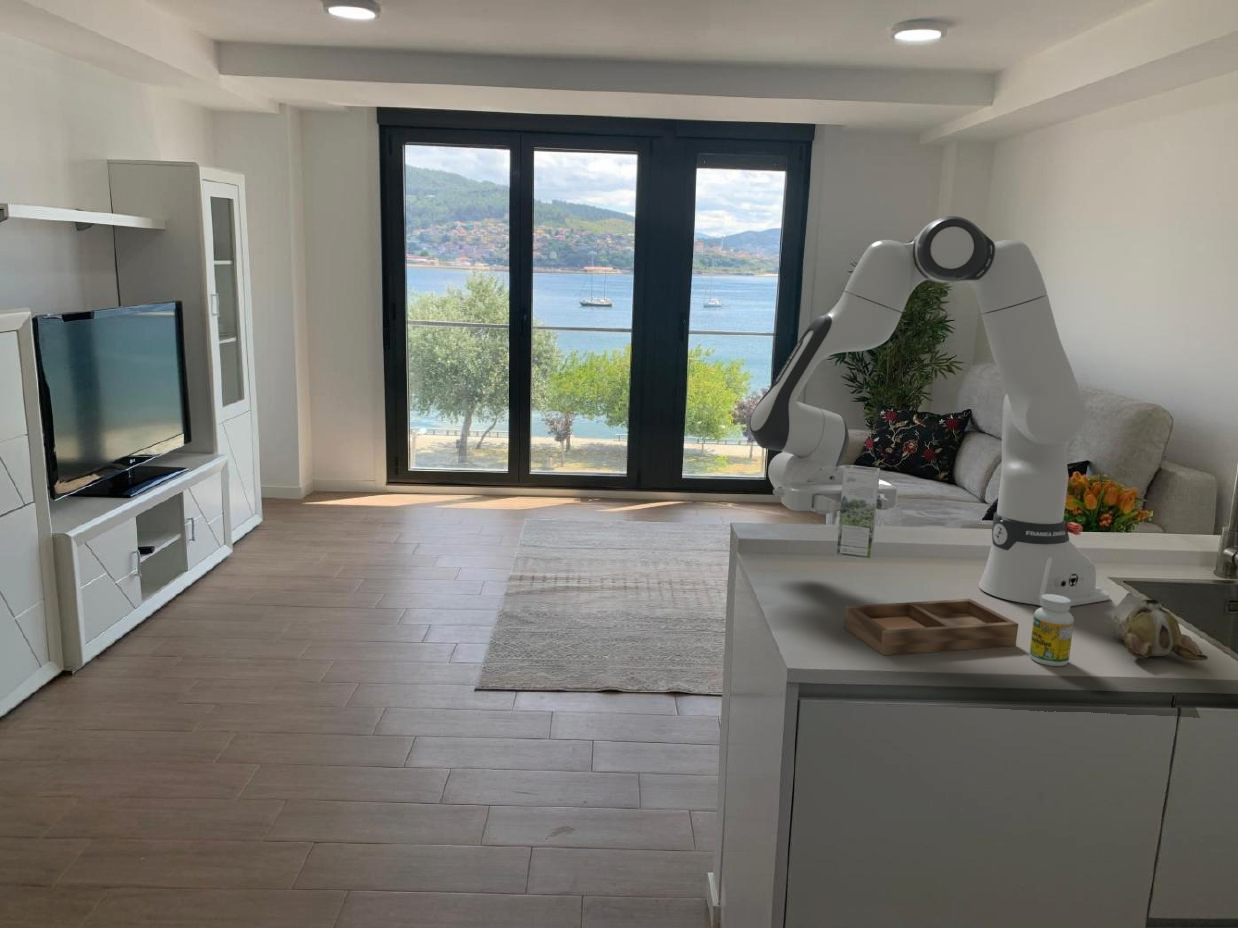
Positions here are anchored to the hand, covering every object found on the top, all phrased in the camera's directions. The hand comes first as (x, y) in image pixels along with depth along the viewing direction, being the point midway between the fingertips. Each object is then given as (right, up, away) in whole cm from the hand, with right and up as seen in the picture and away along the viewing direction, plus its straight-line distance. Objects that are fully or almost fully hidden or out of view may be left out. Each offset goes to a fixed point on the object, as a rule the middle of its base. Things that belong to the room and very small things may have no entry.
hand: (861, 506), depth 158 cm
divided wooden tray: (+8, -20, -8) cm, 23 cm away
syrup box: (-1, -8, +2) cm, 9 cm away
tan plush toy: (+41, -22, -11) cm, 48 cm away
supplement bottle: (+24, -22, -16) cm, 36 cm away
